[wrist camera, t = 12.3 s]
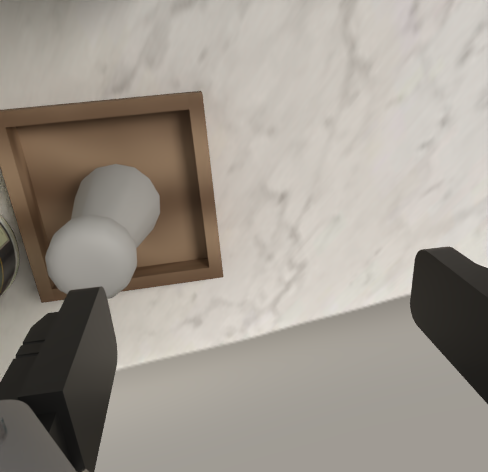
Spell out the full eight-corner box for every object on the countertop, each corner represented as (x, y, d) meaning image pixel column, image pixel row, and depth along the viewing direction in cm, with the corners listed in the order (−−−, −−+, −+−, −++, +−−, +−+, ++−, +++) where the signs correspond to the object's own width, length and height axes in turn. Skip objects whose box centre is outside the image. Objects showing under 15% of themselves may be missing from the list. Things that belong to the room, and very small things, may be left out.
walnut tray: (-1, 110, 29) (-16, 113, 27) (200, 90, 31) (202, 92, 28) (50, 287, 34) (41, 302, 32) (220, 263, 36) (223, 277, 33)
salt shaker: (168, 167, 32) (161, 225, 20) (154, 237, 33) (141, 328, 21) (87, 150, 30) (27, 200, 18) (78, 223, 32) (18, 313, 20)
